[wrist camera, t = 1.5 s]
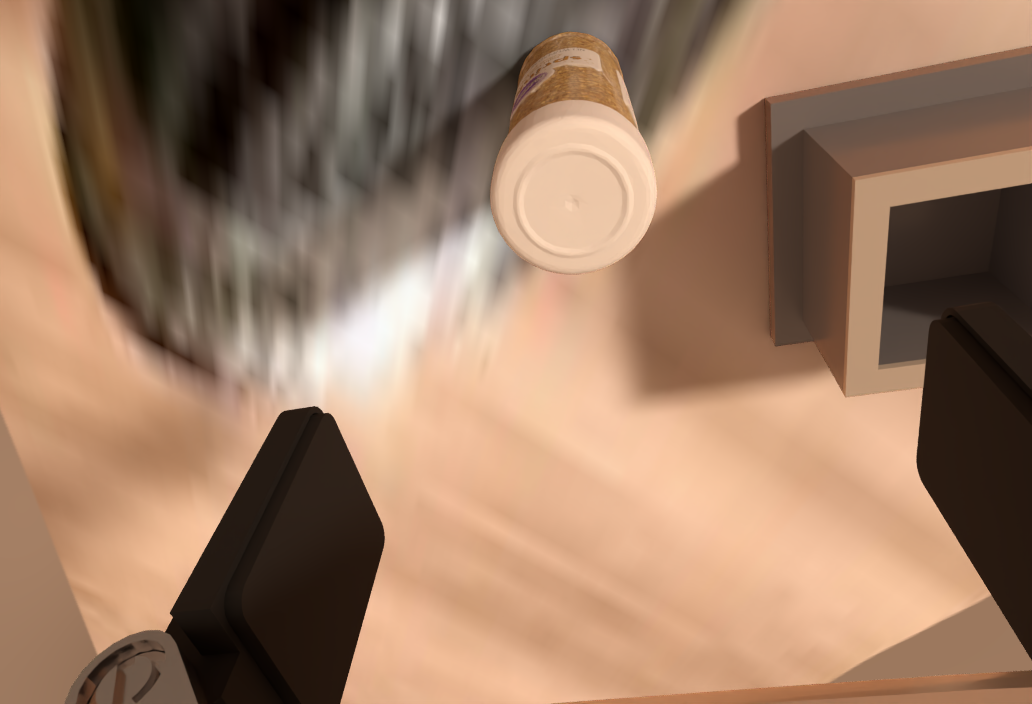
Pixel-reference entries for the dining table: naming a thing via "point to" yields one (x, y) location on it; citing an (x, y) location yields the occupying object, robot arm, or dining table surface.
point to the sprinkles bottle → (572, 161)
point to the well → (899, 211)
